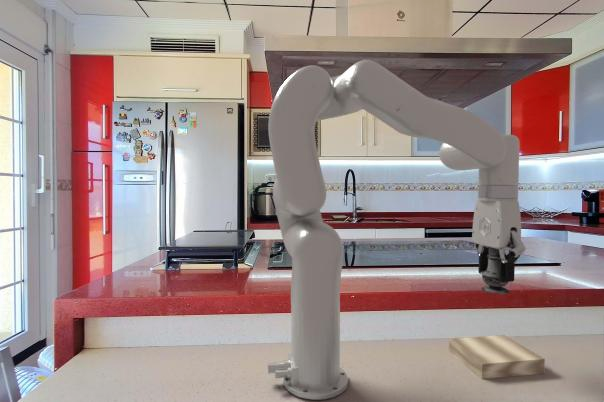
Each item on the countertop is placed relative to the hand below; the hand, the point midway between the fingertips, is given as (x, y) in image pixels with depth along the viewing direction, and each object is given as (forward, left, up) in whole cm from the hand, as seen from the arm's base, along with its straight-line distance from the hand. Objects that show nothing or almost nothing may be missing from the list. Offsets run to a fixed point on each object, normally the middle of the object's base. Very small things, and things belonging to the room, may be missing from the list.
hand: (495, 276), depth 79 cm
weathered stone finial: (0, 0, -3) cm, 3 cm away
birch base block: (0, 0, -19) cm, 19 cm away
